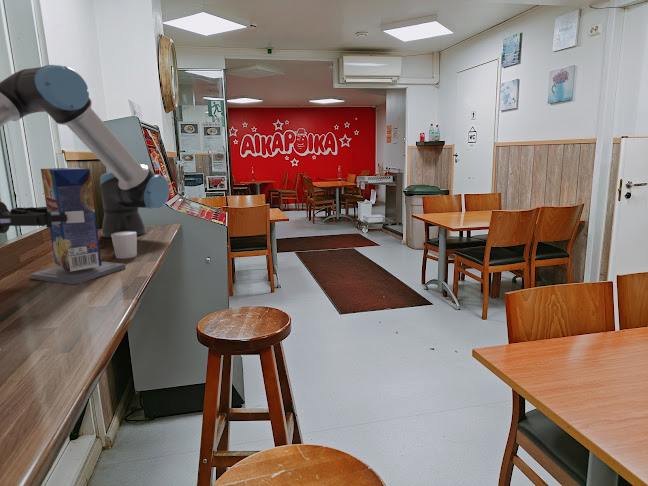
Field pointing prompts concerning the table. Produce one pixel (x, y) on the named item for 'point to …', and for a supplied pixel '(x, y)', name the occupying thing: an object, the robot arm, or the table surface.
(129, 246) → the white cup
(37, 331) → the table surface
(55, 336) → the table surface
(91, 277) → the slate board
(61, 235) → the juice carton
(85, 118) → the robot arm
